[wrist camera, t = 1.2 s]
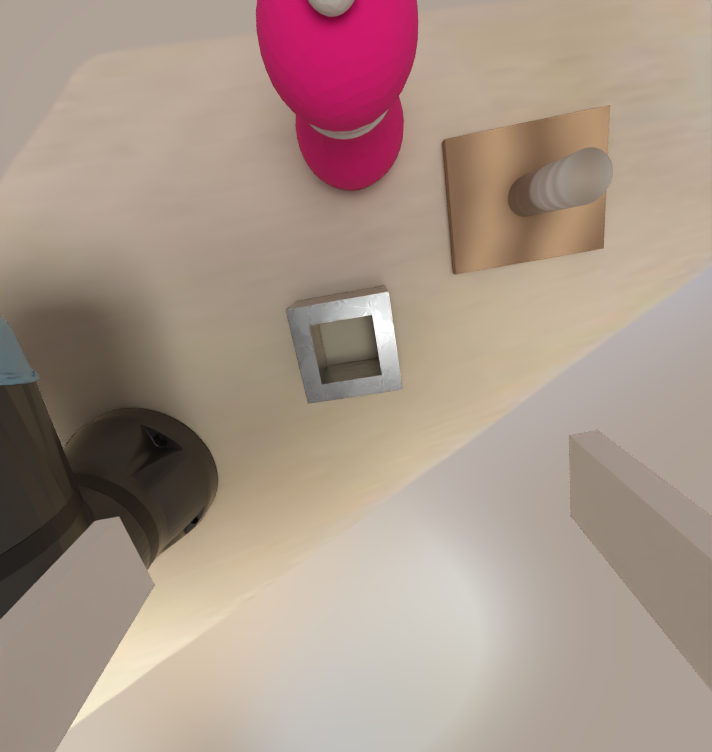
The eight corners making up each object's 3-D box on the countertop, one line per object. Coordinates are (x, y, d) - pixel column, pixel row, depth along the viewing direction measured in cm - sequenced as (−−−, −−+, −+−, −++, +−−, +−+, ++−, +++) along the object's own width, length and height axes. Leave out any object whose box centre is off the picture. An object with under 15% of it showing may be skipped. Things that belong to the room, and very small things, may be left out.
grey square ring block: (315, 382, 35) (308, 403, 31) (297, 300, 33) (285, 309, 28) (397, 370, 35) (402, 389, 30) (385, 285, 32) (388, 291, 27)
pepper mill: (375, 72, 27) (400, -335, 8) (411, 171, 29) (498, 30, 10) (290, 120, 28) (138, -138, 9) (331, 213, 30) (275, 155, 11)
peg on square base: (453, 273, 32) (485, 282, 23) (442, 142, 28) (475, 97, 20) (596, 248, 31) (684, 248, 22) (601, 110, 27) (707, 48, 19)
